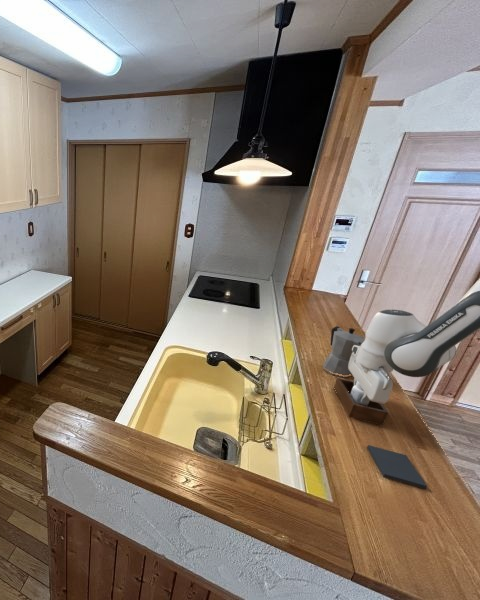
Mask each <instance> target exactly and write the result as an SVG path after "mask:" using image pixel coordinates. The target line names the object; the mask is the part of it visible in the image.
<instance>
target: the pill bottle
mask: <svg viewBox="0 0 480 600" xmlns="http://www.w3.org/2000/svg"><path fill="white" fill-rule="evenodd" d="M350 395H351V397H352V398H353V400H354V402H355V403H356V404H358V405H363V406H367V405H364V404H361V402H360V397H361V396H362V397H363V396H364V391H363V389H362V388H361V386H360V384H359V382H358V381H357V383H356V385H354V386H353V388H352V391H351V393H350ZM367 407H368V406H367Z"/></svg>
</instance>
